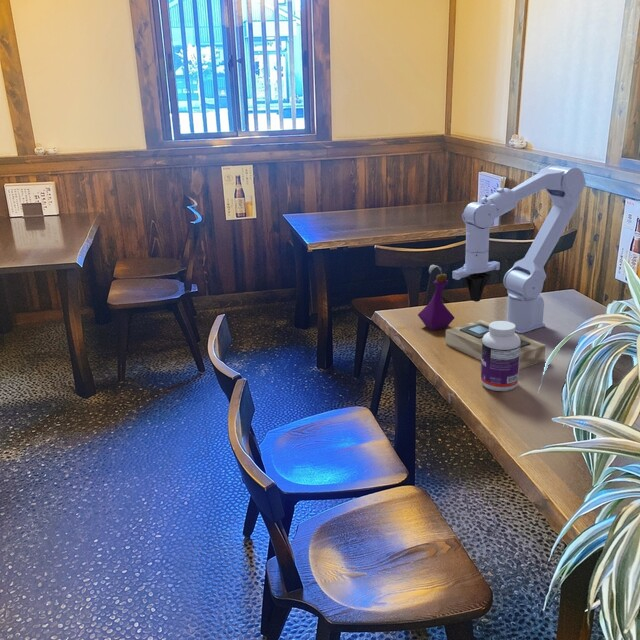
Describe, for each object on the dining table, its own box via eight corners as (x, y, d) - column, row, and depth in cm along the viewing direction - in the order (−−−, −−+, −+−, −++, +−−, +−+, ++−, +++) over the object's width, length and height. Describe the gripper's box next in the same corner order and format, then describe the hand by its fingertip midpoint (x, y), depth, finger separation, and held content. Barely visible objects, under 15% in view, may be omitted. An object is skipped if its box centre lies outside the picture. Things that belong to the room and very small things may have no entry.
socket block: (479, 333, 168) (480, 318, 166) (544, 360, 150) (545, 343, 148) (445, 344, 162) (445, 328, 161) (508, 373, 144) (509, 356, 143)
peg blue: (479, 340, 162) (479, 325, 161) (490, 345, 159) (491, 330, 158) (467, 344, 161) (468, 329, 159) (478, 349, 157) (479, 333, 156)
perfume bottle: (439, 320, 178) (440, 259, 172) (454, 328, 172) (456, 266, 166) (417, 325, 176) (417, 264, 170) (431, 333, 169) (432, 270, 163)
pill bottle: (483, 375, 144) (485, 317, 139) (519, 379, 141) (523, 320, 136) (478, 390, 137) (480, 330, 132) (516, 395, 134) (519, 333, 129)
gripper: (486, 242, 165) (485, 291, 170) (444, 252, 159) (444, 302, 163) (506, 247, 159) (504, 297, 164) (463, 257, 153) (462, 309, 157)
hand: (475, 300), depth 163 cm, fingers closed
